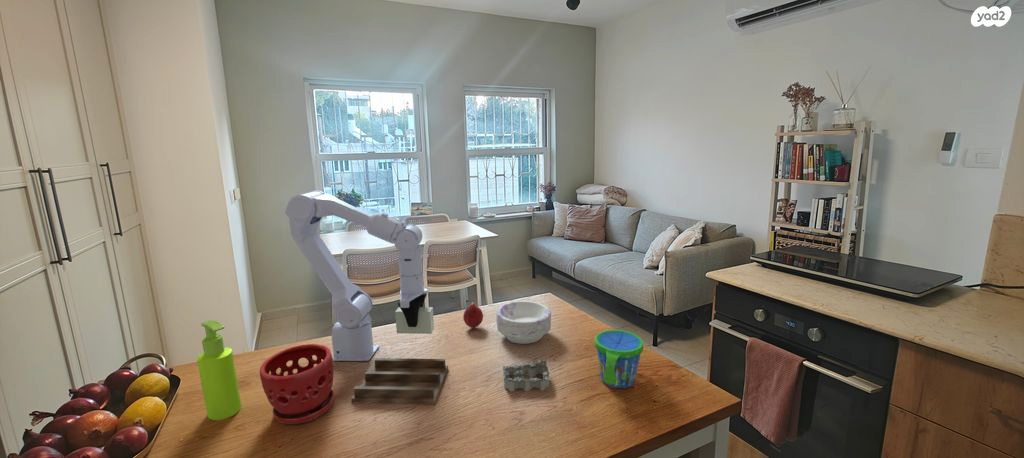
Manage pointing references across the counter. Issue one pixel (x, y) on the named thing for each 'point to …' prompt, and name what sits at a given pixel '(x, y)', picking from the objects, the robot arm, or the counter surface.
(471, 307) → the onion
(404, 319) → the pale green block
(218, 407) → the soap dispenser
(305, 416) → the plant pot
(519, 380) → the egg carton
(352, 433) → the counter surface
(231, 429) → the counter surface
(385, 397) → the rack
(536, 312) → the paper bowls
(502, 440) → the counter surface
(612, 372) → the snack cup
